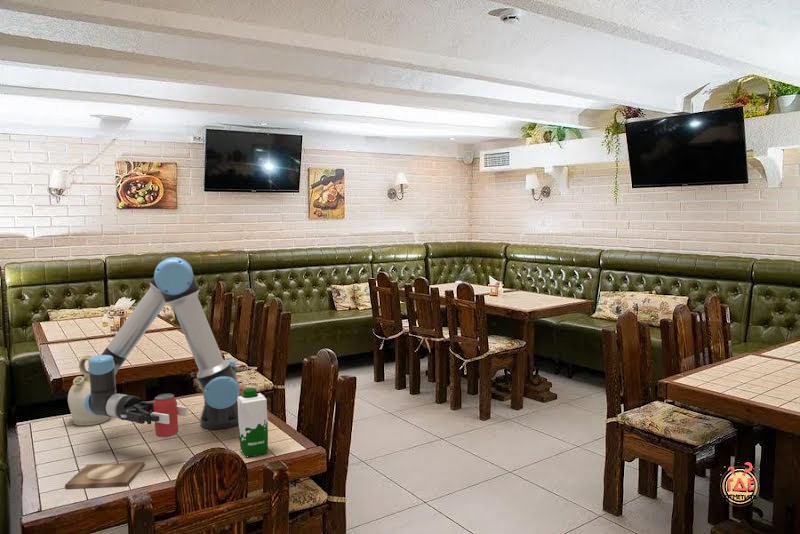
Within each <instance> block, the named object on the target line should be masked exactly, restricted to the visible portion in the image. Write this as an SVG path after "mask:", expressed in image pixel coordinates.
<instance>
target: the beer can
mask: <svg viewBox="0 0 800 534" xmlns="http://www.w3.org/2000/svg"><path fill="white" fill-rule="evenodd" d="M154 399H155V401H154V405H153V407H154V412H156V413H162V414H168V415H169V421H170V423H169V424H164V423H158V422H154V432H155V436H156V437H158V438H170V437H173V436H175V435H176V434H178V433H179V422H178V421H179V419H178V415H177V406H178V403H177V404H176V402H177V399H176V398H175V395H174V394H173V393H161V394H158V395H157V396H155V397H154Z"/></svg>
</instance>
